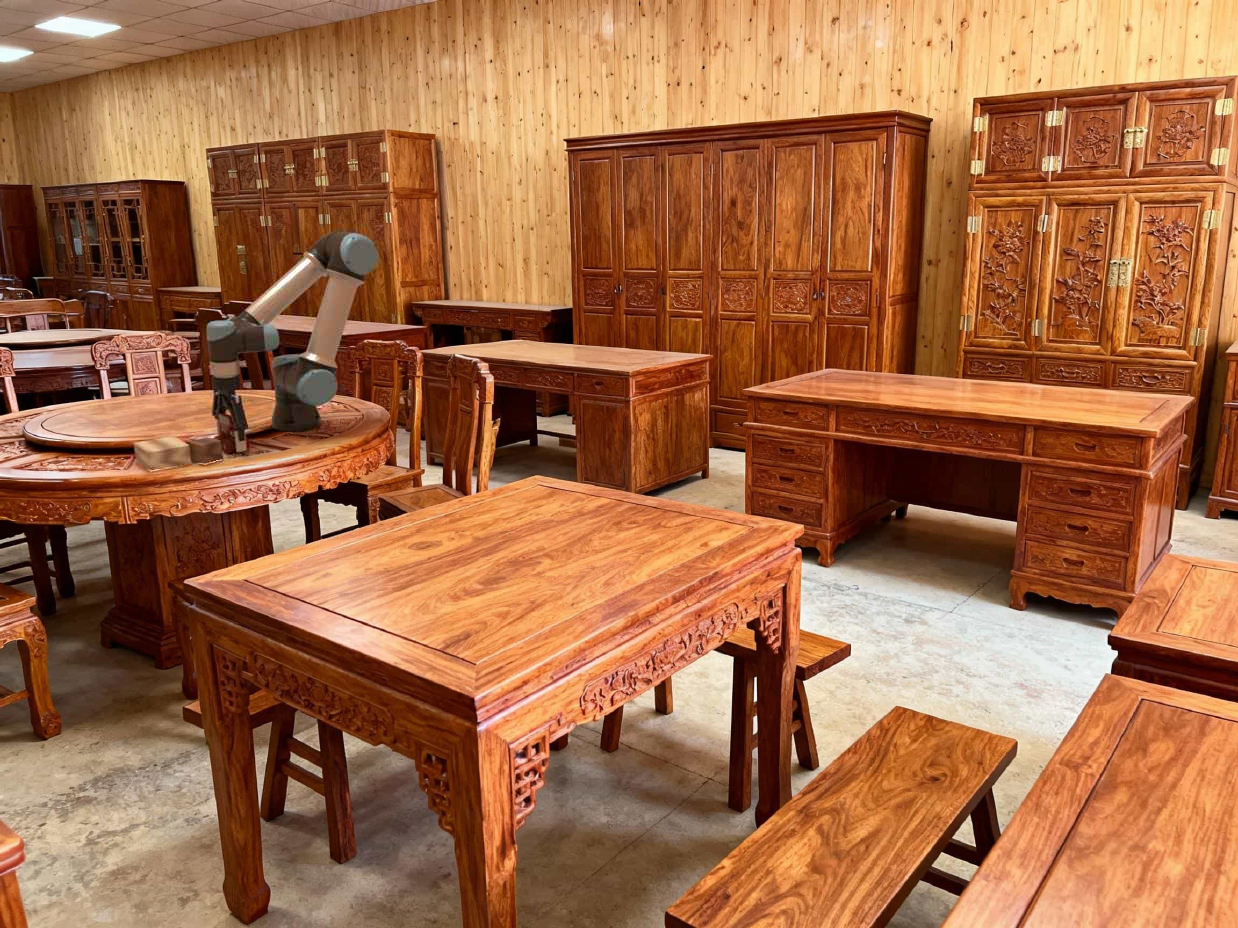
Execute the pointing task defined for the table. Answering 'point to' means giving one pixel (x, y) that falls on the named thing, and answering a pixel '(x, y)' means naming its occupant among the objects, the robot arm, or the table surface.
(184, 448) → the birch block
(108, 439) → the table surface
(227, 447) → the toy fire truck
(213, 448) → the walnut cube
